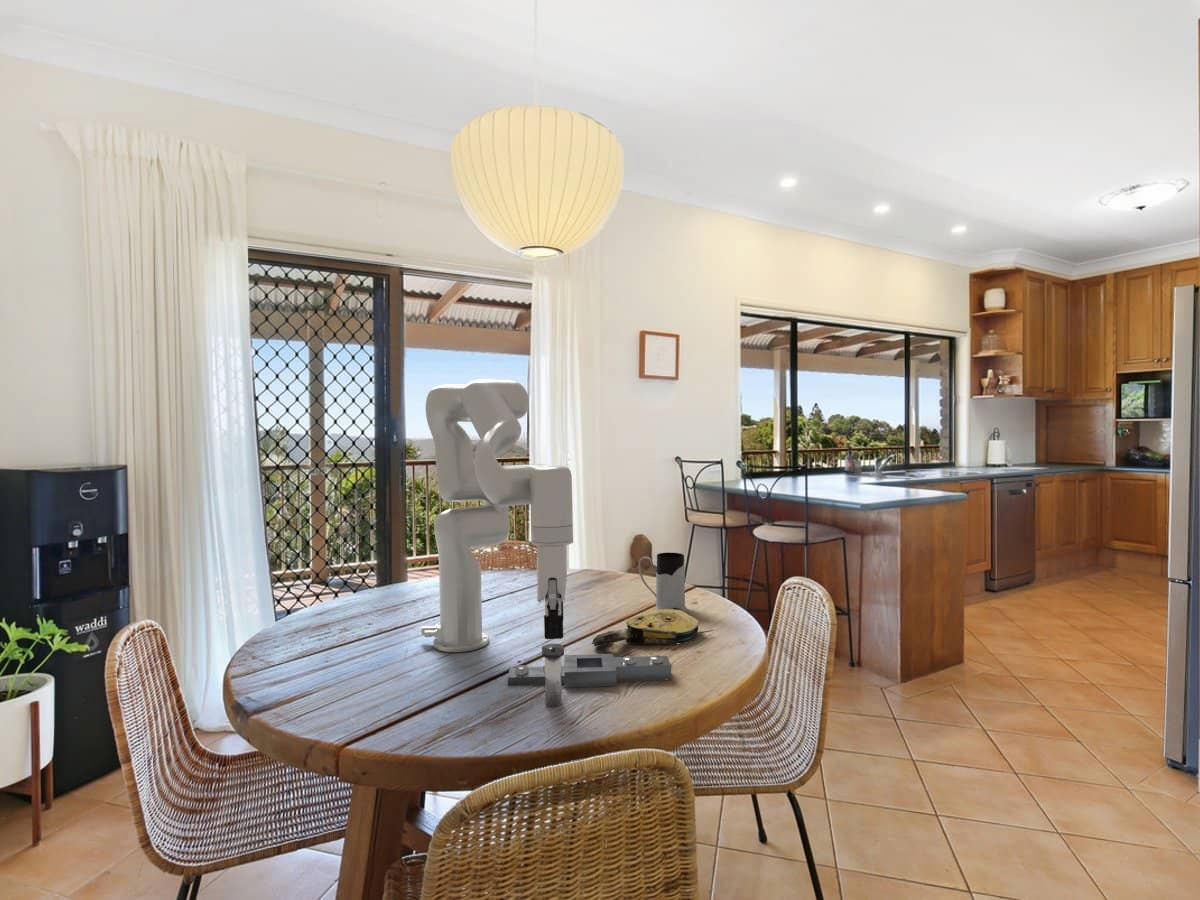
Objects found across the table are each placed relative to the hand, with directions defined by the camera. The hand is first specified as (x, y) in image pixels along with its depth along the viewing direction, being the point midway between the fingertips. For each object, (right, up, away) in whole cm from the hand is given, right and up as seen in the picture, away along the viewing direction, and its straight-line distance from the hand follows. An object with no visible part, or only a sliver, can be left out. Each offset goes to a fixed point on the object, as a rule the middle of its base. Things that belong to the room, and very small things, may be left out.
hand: (554, 629), depth 110 cm
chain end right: (+12, -13, +13) cm, 22 cm away
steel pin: (0, -14, +1) cm, 14 cm away
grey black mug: (+25, -12, +60) cm, 67 cm away
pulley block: (+20, -13, +35) cm, 42 cm away
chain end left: (+1, -13, +12) cm, 18 cm away
